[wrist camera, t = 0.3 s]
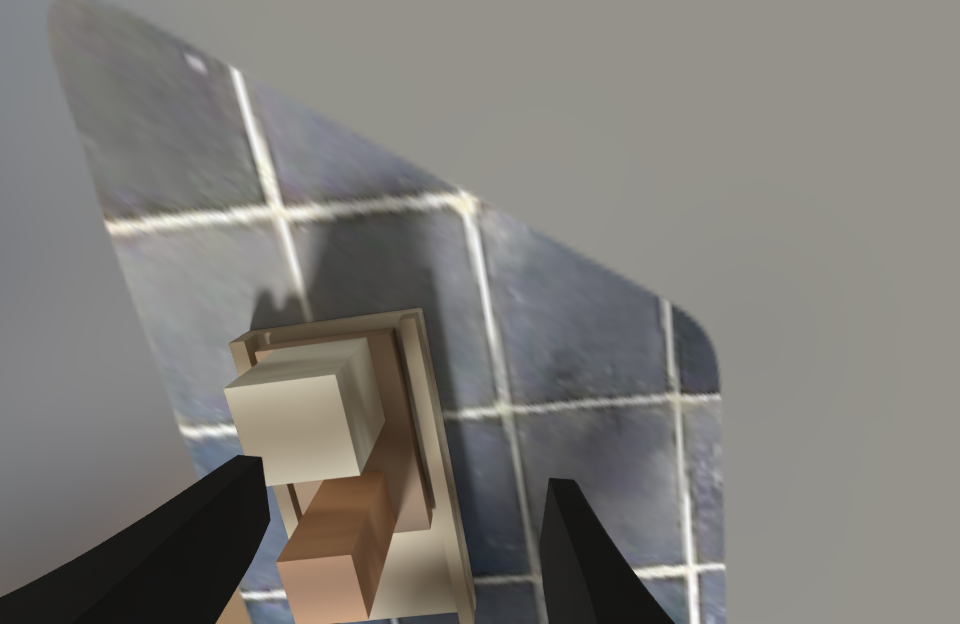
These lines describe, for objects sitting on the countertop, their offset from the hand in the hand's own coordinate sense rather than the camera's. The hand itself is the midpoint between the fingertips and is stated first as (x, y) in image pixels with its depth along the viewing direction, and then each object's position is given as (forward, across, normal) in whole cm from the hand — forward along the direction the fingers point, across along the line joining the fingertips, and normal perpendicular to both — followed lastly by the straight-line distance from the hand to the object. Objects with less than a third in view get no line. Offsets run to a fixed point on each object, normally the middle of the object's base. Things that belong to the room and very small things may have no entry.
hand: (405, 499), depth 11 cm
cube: (+8, +5, +2) cm, 10 cm away
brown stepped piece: (+9, +4, +5) cm, 11 cm away
